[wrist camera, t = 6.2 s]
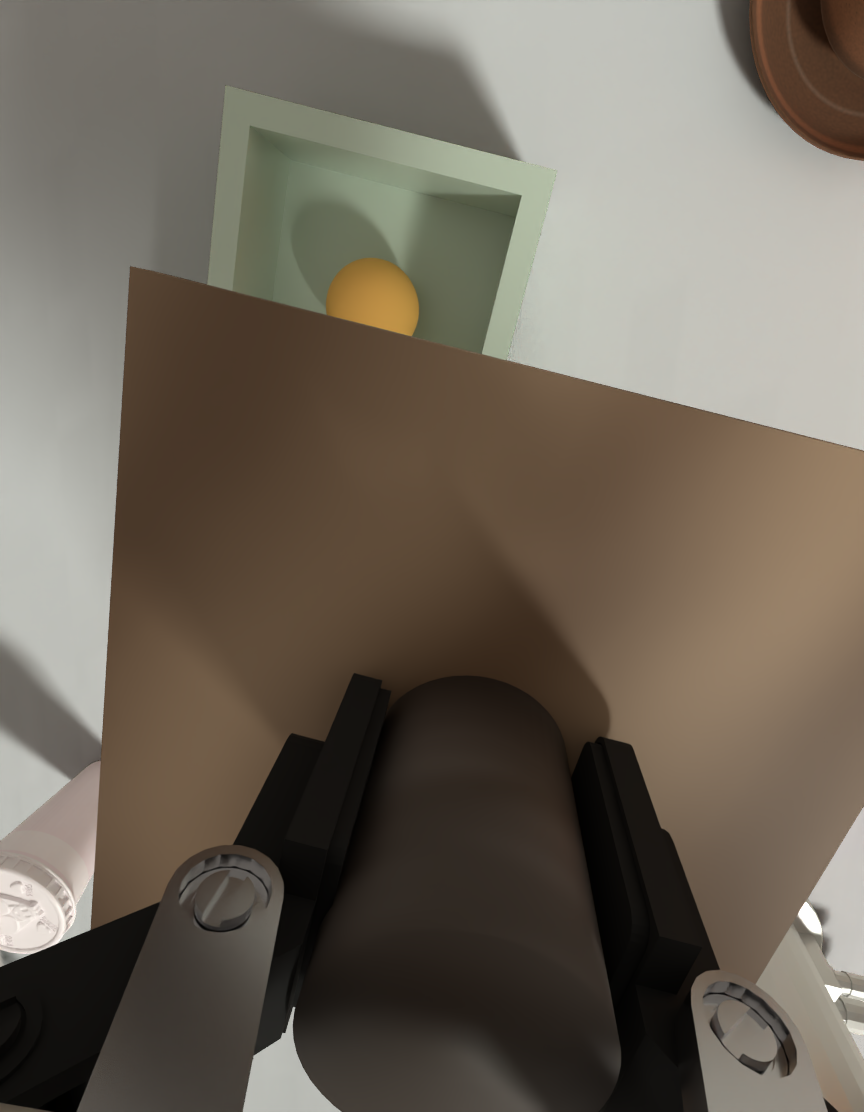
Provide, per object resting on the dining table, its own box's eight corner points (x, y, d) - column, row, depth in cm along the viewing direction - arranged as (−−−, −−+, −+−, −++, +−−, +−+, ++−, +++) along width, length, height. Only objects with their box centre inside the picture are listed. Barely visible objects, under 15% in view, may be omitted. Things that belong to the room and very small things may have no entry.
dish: (541, 201, 27) (557, 170, 22) (473, 461, 32) (471, 491, 26) (278, 134, 27) (225, 85, 22) (245, 404, 31) (194, 422, 26)
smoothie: (46, 751, 41) (-159, 954, 28) (134, 736, 40) (-37, 940, 27) (87, 826, 43) (-87, 1048, 30) (171, 814, 42) (29, 1038, 29)
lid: (1007, 486, 10) (1654, 669, 4) (682, 1048, 15) (797, 1473, 9) (157, 271, 10) (-253, 186, 4) (111, 900, 15) (-115, 1232, 9)
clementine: (431, 274, 28) (424, 266, 24) (412, 364, 29) (402, 370, 25) (345, 252, 28) (324, 241, 24) (330, 343, 29) (308, 346, 25)
